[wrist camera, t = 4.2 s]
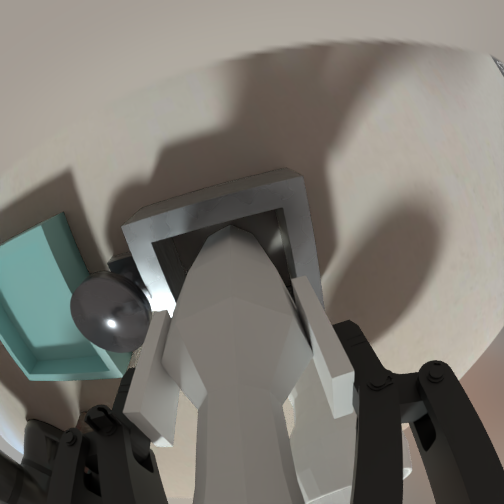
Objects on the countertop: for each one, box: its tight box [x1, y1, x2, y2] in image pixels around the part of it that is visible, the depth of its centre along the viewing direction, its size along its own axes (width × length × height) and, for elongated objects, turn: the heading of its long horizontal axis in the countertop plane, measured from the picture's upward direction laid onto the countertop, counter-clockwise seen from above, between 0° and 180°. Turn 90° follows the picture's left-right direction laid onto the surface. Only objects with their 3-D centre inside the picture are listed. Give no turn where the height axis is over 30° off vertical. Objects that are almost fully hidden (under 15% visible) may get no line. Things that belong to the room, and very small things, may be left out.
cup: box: [288, 358, 412, 504], centre depth 21 cm, size 11×11×15 cm
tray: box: [0, 212, 133, 381], centre depth 20 cm, size 15×15×4 cm
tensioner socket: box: [70, 168, 325, 353], centre depth 19 cm, size 18×11×6 cm, turn 104°
